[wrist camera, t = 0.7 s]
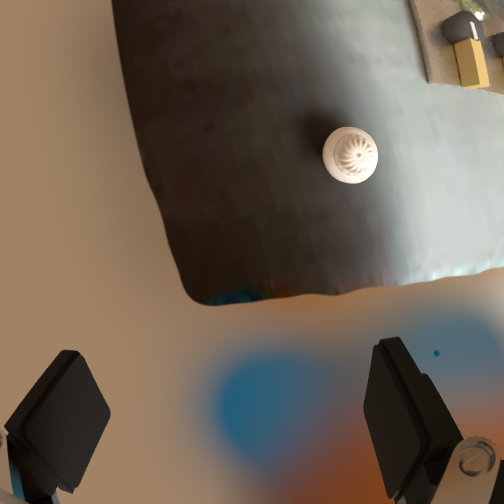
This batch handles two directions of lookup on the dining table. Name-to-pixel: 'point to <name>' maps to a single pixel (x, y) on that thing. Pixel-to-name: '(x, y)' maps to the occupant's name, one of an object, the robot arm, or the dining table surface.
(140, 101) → the dining table surface
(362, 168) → the white carved ornament
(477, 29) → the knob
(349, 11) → the dining table surface
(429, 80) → the base plate
